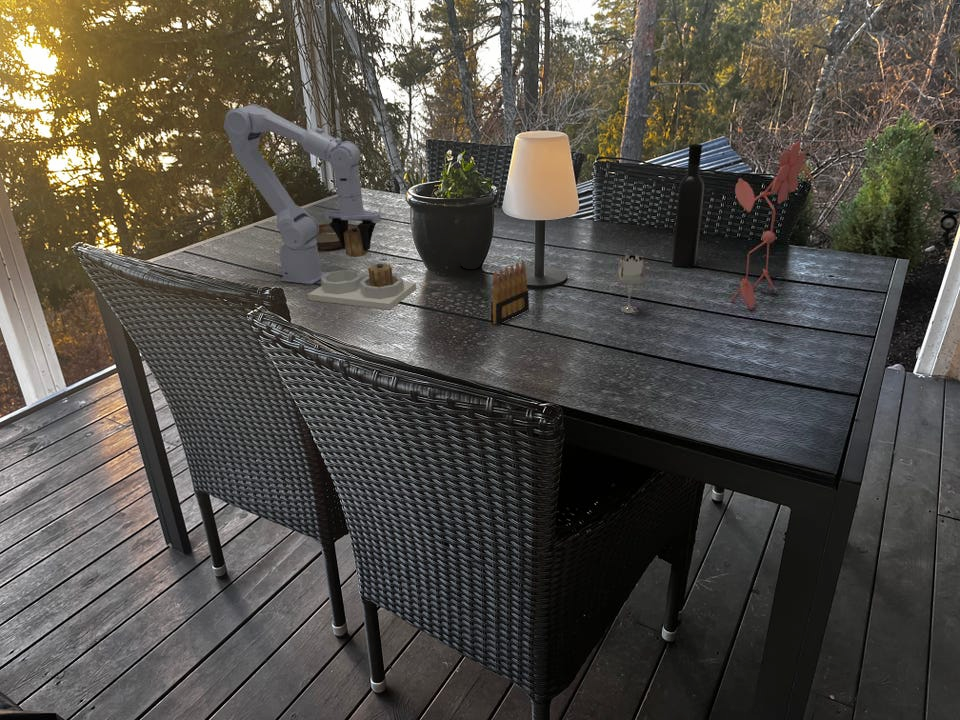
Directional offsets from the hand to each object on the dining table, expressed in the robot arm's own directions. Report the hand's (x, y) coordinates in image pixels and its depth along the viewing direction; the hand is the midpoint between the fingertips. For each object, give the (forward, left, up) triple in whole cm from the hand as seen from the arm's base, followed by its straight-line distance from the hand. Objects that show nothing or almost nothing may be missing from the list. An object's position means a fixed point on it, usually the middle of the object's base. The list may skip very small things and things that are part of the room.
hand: (356, 248), depth 174 cm
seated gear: (+11, -8, -7) cm, 16 cm away
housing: (+6, -8, -8) cm, 13 cm away
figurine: (+98, +12, -9) cm, 99 cm away
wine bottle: (+77, +34, -9) cm, 84 cm away
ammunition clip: (+45, -11, -9) cm, 47 cm away
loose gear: (0, 0, -2) cm, 2 cm away
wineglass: (+69, 0, -9) cm, 69 cm away
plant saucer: (-26, +28, -9) cm, 39 cm away
